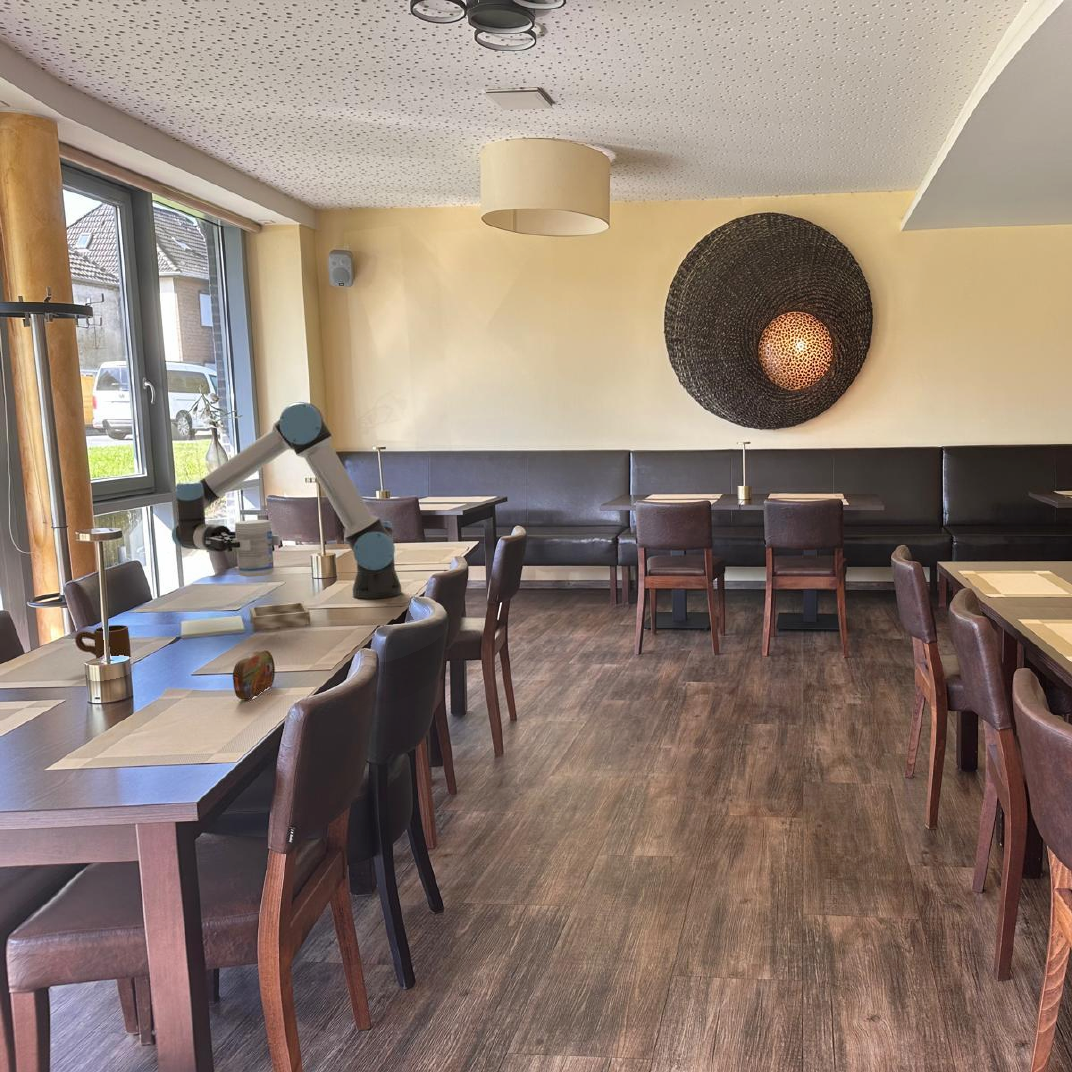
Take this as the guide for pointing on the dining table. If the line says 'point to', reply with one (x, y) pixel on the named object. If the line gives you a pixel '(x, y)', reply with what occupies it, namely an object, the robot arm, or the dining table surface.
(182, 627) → the board
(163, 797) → the dining table surface
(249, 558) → the supplement tub
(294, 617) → the holder frame
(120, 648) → the mug
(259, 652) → the tin
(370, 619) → the dining table surface
